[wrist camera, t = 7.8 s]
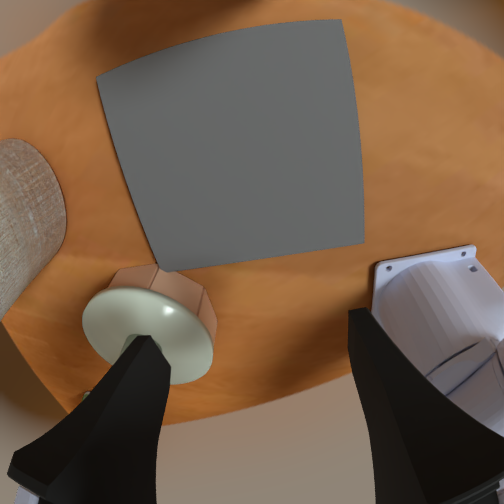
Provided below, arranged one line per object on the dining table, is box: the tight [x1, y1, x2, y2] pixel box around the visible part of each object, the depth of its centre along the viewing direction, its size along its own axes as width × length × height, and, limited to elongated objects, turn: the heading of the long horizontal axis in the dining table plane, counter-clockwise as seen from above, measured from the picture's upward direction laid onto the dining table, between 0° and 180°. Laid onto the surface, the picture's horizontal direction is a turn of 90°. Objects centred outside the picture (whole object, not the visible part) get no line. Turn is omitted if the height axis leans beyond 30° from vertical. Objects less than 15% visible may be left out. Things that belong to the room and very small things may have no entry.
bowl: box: [108, 263, 218, 344], centre depth 21 cm, size 9×9×4 cm
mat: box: [96, 19, 364, 273], centre depth 16 cm, size 14×14×1 cm
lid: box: [82, 286, 214, 384], centre depth 18 cm, size 10×10×5 cm
